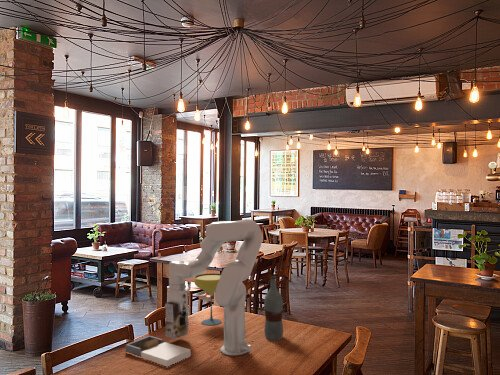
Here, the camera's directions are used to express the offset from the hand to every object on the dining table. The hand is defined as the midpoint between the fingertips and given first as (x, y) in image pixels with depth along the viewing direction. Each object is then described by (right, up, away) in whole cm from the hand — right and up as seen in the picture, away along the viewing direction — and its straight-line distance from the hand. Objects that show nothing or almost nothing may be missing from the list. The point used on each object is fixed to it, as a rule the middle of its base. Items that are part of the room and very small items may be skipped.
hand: (177, 323), depth 204 cm
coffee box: (0, -6, 0) cm, 6 cm away
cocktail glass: (+14, -9, +28) cm, 33 cm away
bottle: (+47, -8, +4) cm, 48 cm away
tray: (-12, -9, -12) cm, 19 cm away
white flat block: (-2, -9, -20) cm, 22 cm away
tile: (-10, -7, -14) cm, 18 cm away
